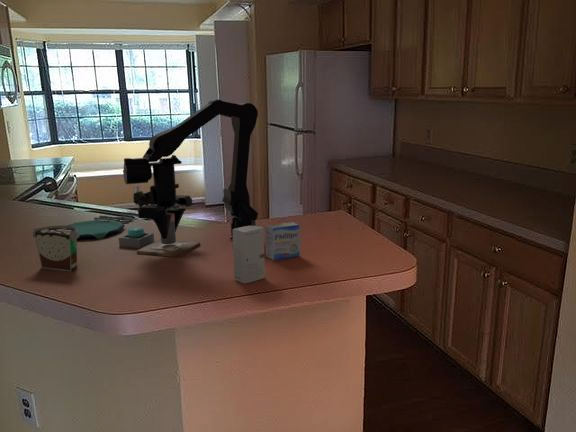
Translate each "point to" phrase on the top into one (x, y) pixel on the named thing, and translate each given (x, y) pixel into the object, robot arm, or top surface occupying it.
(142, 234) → the button
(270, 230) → the medicine box
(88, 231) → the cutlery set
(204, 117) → the robot arm
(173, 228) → the pink and grey capsule
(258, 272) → the skincare box
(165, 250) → the drawing board
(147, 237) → the button housing
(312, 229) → the top surface
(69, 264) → the food container
